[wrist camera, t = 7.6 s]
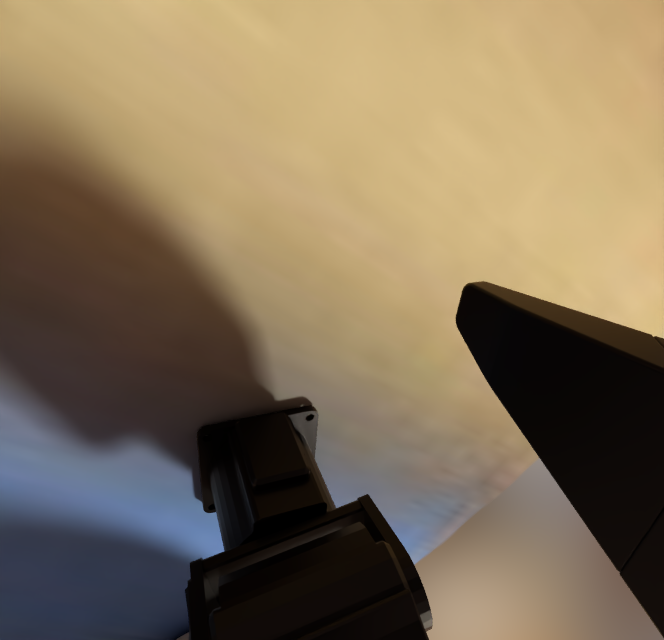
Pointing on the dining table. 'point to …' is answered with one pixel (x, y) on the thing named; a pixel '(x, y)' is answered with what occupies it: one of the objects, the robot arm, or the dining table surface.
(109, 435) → the dining table surface
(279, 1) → the dining table surface
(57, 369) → the dining table surface
